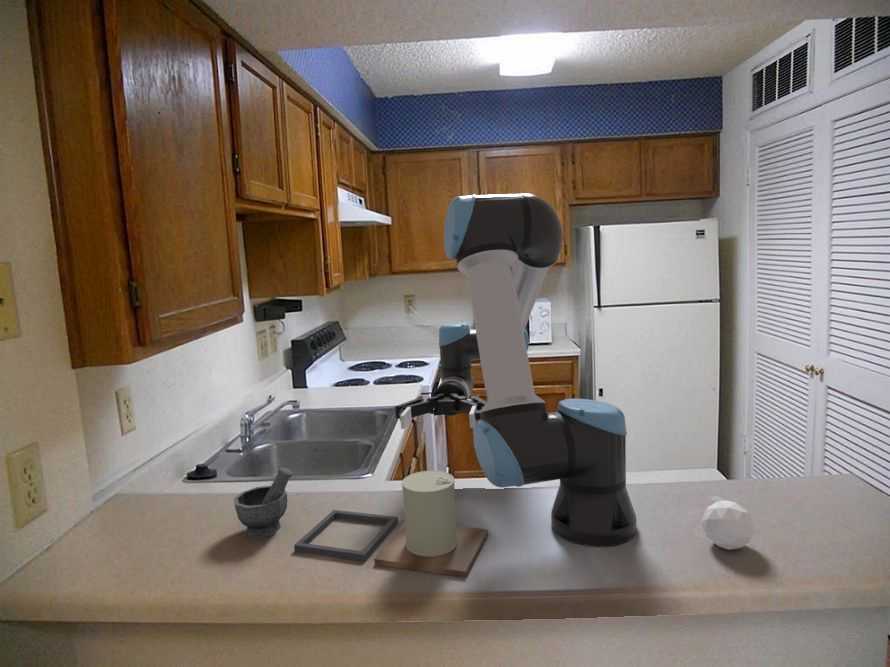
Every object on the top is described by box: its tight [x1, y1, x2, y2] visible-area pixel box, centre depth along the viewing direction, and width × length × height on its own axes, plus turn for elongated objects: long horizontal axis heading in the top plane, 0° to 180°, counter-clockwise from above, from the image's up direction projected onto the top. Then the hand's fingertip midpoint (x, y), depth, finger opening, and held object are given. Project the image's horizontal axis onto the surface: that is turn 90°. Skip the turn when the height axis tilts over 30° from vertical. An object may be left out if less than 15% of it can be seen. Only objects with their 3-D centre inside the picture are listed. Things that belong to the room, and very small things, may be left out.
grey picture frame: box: [293, 509, 399, 562], centre depth 105 cm, size 14×14×1 cm
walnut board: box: [373, 522, 489, 578], centre depth 99 cm, size 16×14×1 cm
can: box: [401, 470, 458, 557], centre depth 98 cm, size 9×9×12 cm
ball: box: [701, 500, 756, 551], centre depth 95 cm, size 8×8×8 cm
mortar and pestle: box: [233, 467, 293, 539], centre depth 109 cm, size 11×9×12 cm
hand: (436, 421), depth 110 cm, fingers open, 13 cm apart
